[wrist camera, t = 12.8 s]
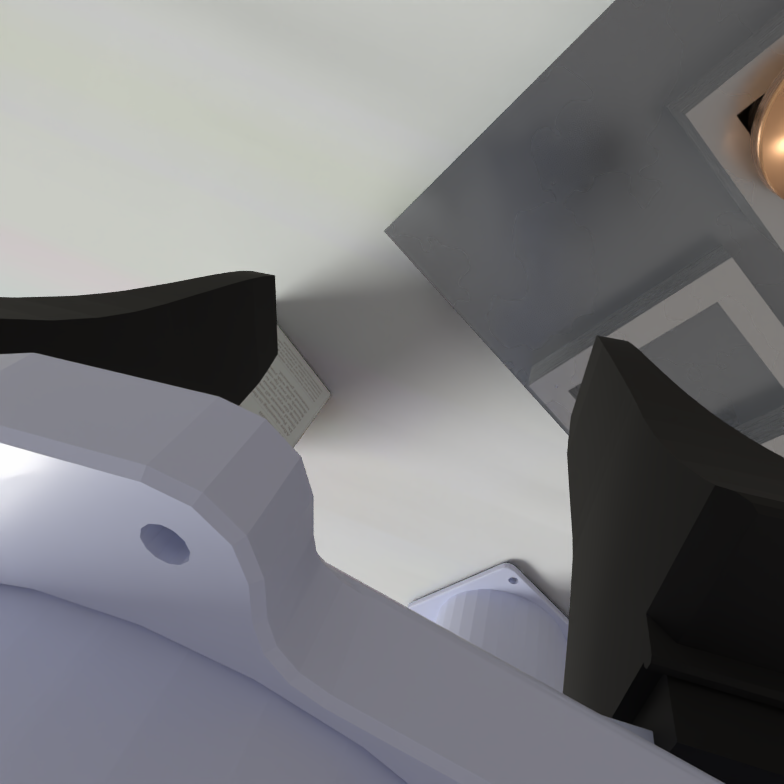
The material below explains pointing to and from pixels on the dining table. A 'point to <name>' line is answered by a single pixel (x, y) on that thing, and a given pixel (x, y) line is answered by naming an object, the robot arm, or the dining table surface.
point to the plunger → (769, 136)
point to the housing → (626, 213)
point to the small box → (288, 393)
